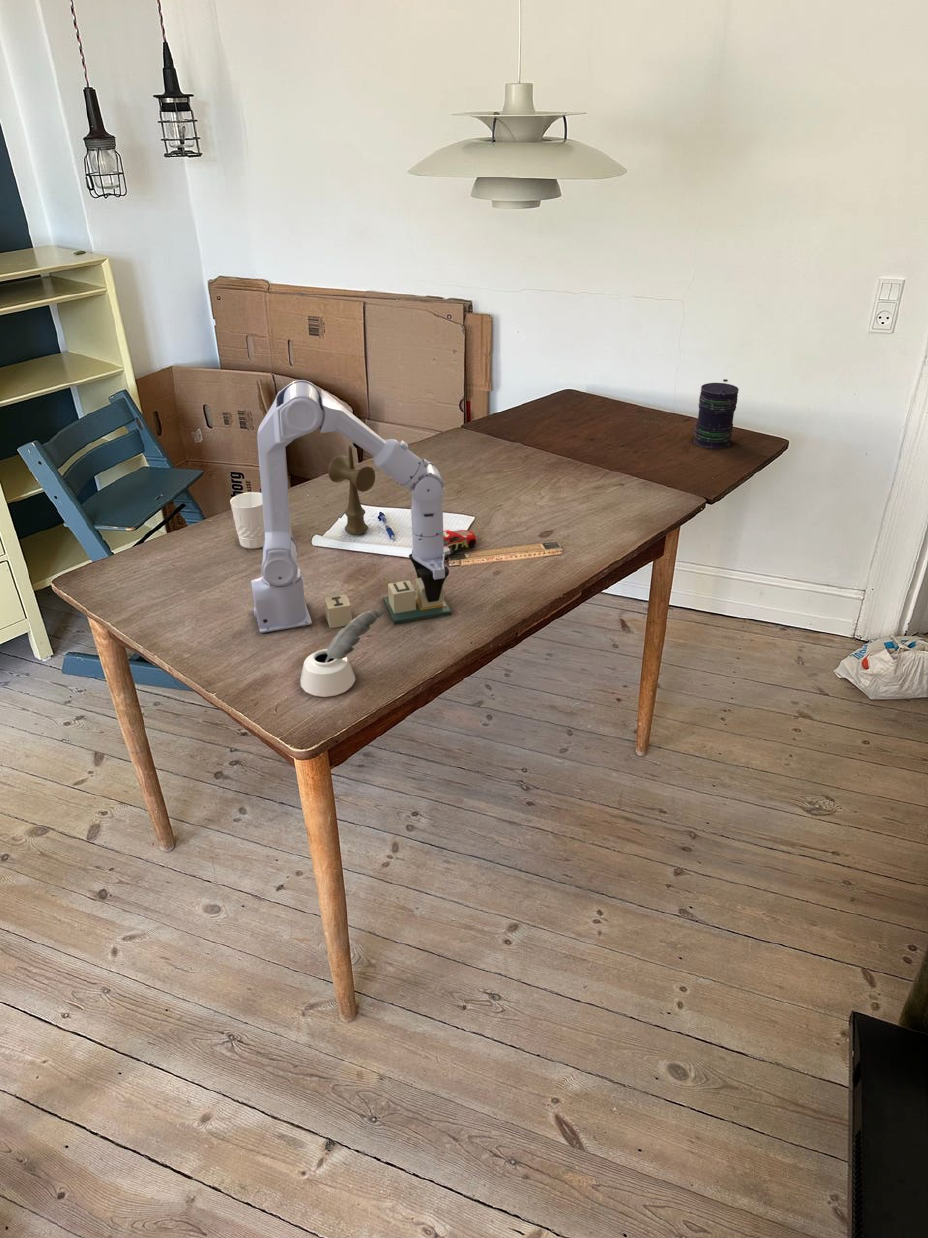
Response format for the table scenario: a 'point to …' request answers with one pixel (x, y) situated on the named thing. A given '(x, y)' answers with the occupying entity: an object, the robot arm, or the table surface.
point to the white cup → (249, 519)
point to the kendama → (352, 489)
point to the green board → (417, 612)
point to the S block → (422, 596)
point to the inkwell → (336, 659)
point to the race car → (458, 540)
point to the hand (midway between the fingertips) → (429, 594)
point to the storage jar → (716, 415)
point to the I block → (338, 611)
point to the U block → (402, 596)
